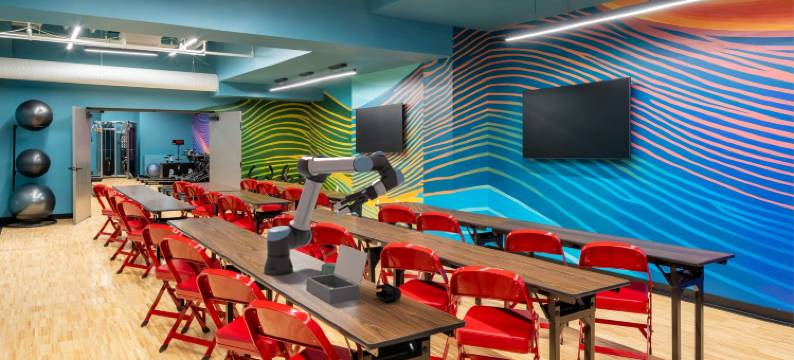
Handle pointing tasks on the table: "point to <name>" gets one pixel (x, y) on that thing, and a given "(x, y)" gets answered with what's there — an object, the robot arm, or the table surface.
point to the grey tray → (332, 288)
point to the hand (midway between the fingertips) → (335, 212)
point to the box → (328, 269)
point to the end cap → (388, 293)
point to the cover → (350, 264)
